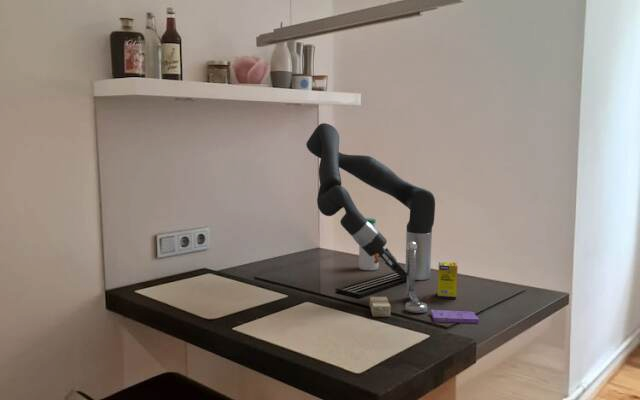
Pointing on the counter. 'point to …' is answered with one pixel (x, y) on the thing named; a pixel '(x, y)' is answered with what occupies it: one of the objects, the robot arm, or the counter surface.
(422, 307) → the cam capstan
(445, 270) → the supplement box
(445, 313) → the sponges
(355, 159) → the robot arm
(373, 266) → the milk bottle
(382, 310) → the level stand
